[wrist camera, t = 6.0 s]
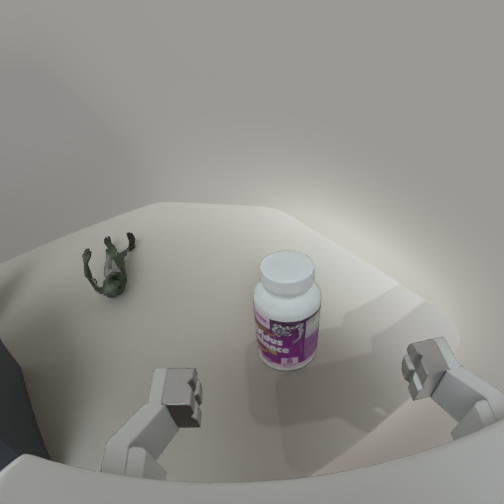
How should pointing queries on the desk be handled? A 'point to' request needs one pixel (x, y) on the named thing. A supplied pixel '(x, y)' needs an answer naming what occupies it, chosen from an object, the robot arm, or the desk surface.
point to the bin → (16, 414)
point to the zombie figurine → (110, 268)
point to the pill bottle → (287, 310)
